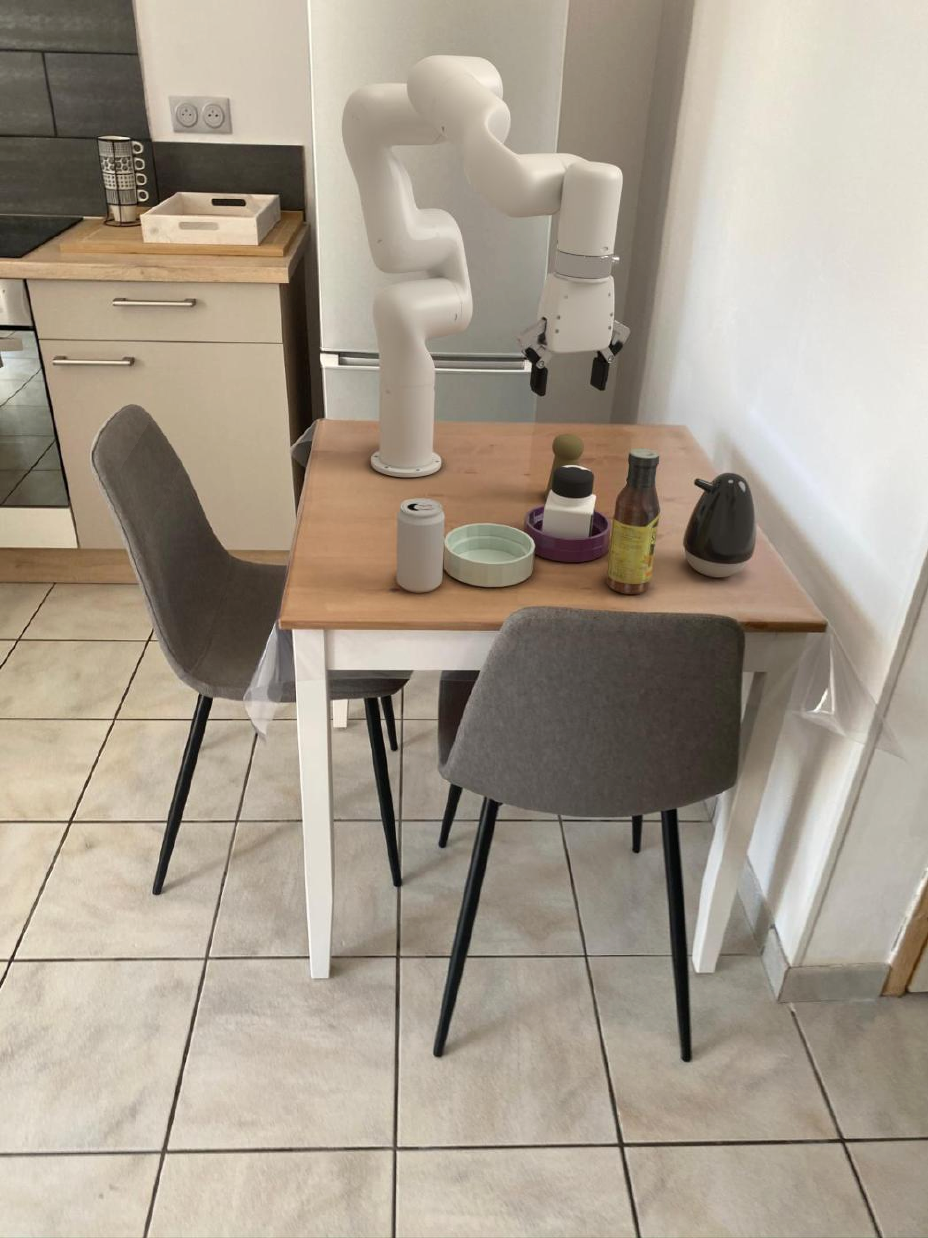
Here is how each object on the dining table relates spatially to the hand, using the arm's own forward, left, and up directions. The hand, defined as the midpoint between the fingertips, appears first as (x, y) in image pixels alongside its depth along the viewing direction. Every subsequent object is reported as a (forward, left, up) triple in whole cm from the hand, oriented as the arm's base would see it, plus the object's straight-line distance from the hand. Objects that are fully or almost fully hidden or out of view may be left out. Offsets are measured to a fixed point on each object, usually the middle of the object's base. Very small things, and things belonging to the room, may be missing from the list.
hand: (568, 390), depth 136 cm
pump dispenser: (+17, +18, -24) cm, 34 cm away
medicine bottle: (+2, +1, -24) cm, 24 cm away
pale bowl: (+5, -13, -24) cm, 28 cm away
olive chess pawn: (-13, +9, -24) cm, 29 cm away
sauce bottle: (+16, +3, -24) cm, 29 cm away
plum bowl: (+2, +1, -24) cm, 24 cm away
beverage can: (+7, -25, -24) cm, 35 cm away
